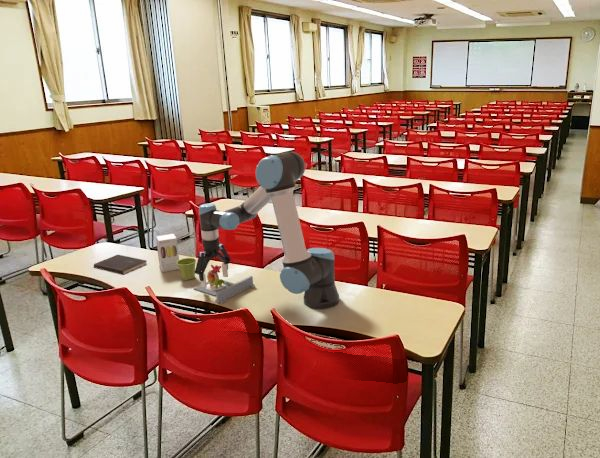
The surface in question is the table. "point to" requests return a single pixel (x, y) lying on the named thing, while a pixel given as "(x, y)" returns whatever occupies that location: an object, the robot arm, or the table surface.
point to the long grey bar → (234, 289)
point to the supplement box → (167, 252)
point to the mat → (213, 288)
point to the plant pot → (187, 268)
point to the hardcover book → (120, 264)
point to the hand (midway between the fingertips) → (215, 281)
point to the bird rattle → (214, 276)
